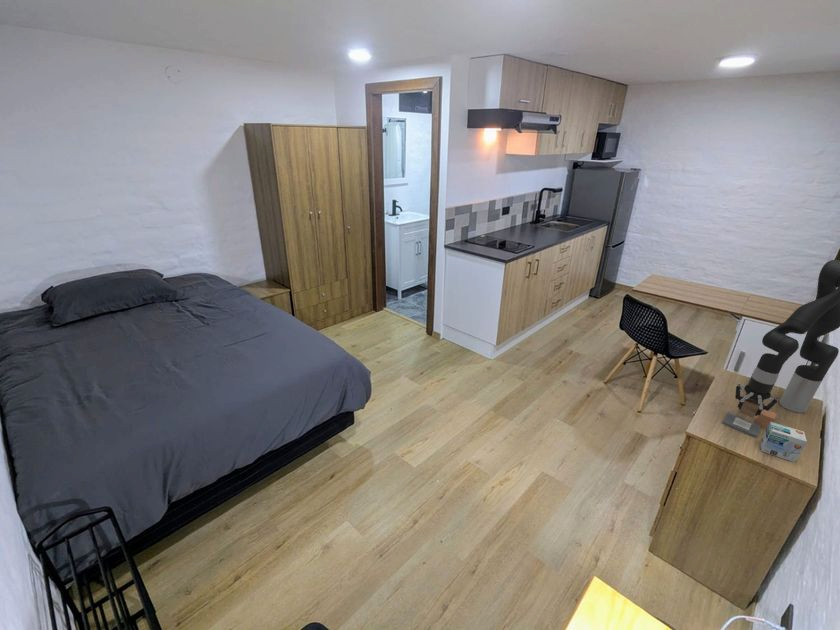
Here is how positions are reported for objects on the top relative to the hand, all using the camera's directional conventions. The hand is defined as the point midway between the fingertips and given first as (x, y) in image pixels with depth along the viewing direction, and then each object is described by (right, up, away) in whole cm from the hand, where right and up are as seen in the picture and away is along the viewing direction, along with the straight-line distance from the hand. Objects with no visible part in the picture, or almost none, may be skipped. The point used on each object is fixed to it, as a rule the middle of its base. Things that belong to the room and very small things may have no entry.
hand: (747, 411), depth 166 cm
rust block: (+10, -7, +4) cm, 13 cm away
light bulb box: (+3, -14, -10) cm, 17 cm away
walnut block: (0, 0, 0) cm, 0 cm away
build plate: (0, -7, +4) cm, 8 cm away
